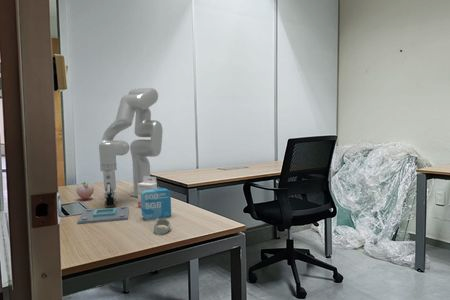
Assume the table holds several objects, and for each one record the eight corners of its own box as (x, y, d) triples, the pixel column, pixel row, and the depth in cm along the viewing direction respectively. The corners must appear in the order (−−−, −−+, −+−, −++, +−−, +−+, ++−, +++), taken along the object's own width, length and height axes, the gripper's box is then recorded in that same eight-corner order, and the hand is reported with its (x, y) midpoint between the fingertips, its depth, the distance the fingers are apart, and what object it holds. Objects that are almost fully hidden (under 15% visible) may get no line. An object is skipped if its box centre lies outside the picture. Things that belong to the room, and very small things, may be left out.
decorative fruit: (97, 199, 187) (96, 181, 187) (82, 202, 181) (81, 183, 180) (89, 197, 194) (88, 179, 193) (74, 199, 188) (73, 181, 187)
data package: (143, 220, 145) (142, 192, 144) (141, 217, 150) (140, 190, 149) (171, 216, 150) (170, 189, 149) (168, 214, 154) (167, 187, 153)
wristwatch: (156, 227, 135) (156, 215, 135) (172, 227, 135) (172, 215, 135) (151, 235, 126) (150, 222, 126) (168, 235, 126) (168, 221, 126)
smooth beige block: (116, 203, 173) (115, 192, 173) (115, 206, 168) (115, 194, 168) (105, 204, 172) (105, 192, 171) (104, 207, 167) (104, 195, 167)
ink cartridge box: (137, 207, 168) (136, 177, 167) (144, 205, 172) (142, 176, 171) (151, 209, 164) (150, 178, 163) (158, 206, 169) (157, 176, 168)
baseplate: (128, 208, 166) (128, 204, 166) (127, 219, 147) (127, 215, 147) (84, 211, 161) (84, 207, 161) (77, 224, 142) (77, 219, 142)
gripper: (115, 169, 161) (117, 207, 163) (117, 164, 177) (119, 199, 179) (98, 170, 159) (100, 209, 161) (101, 165, 176) (104, 200, 177)
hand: (110, 203), depth 170 cm, fingers closed on smooth beige block, 5 cm apart
